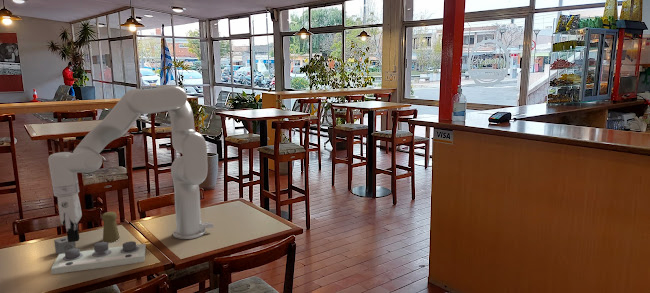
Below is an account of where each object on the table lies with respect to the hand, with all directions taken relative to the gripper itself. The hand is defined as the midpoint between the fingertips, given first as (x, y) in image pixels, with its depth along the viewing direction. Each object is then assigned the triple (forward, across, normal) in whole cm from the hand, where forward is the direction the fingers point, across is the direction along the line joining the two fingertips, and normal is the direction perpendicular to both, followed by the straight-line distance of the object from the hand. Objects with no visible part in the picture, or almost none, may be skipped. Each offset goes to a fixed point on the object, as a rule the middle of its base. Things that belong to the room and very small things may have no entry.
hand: (73, 240), depth 153 cm
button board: (+8, -2, -8) cm, 11 cm away
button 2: (+6, 0, -17) cm, 18 cm away
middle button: (+5, 0, -8) cm, 9 cm away
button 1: (+5, 0, +1) cm, 6 cm away
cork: (+8, +18, -9) cm, 22 cm away
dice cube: (+8, +10, +5) cm, 14 cm away
